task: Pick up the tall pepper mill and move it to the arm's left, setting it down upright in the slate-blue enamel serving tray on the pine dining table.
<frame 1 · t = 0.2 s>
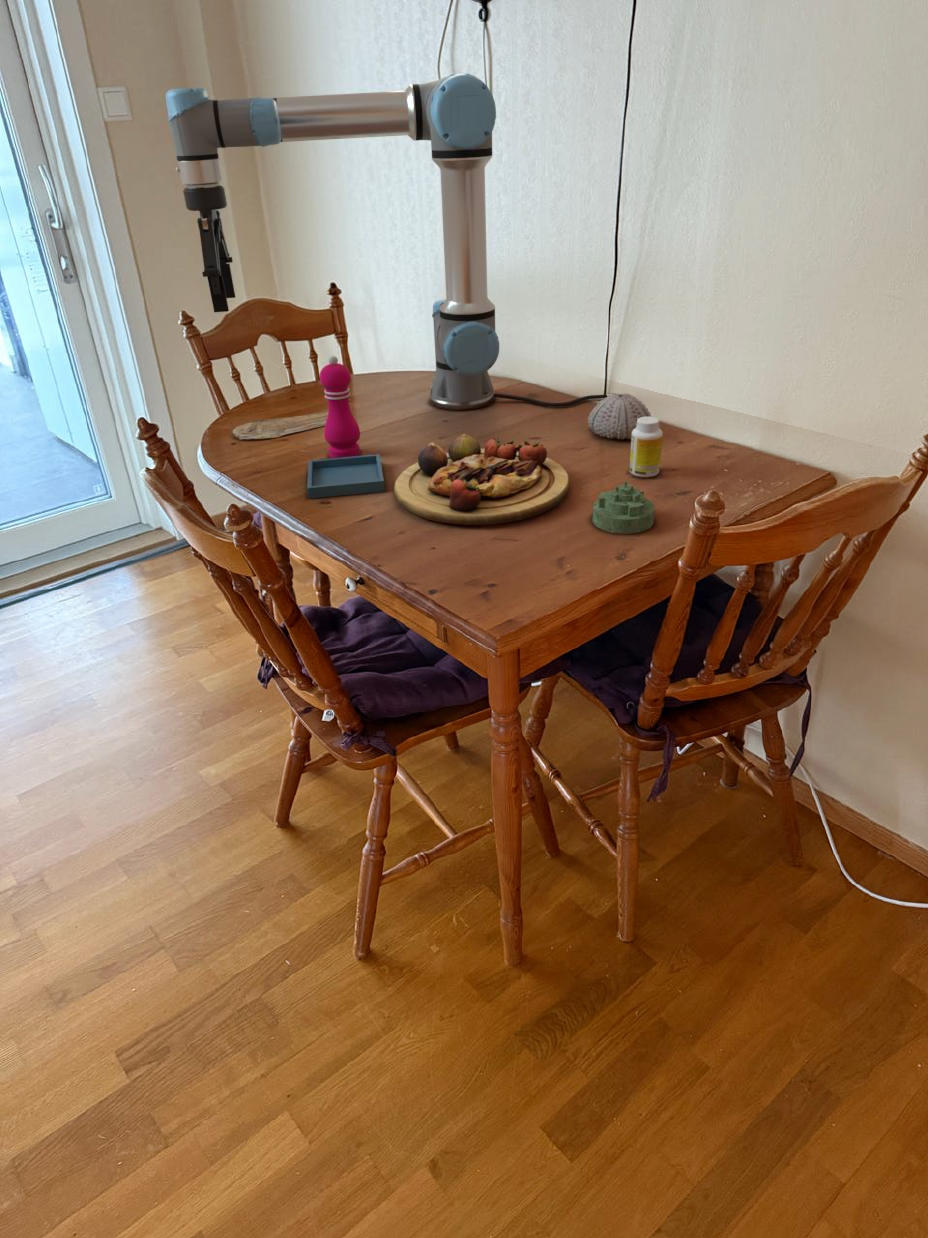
hand: (225, 304, 167), 28 cm above the table, tool pointing down, fingers open, 13 cm apart
sea urchin shell: (619, 433, 175), on the table
decorative artifact: (622, 521, 139), on the table
supplement bottle: (644, 473, 156), on the table
fish fossil: (291, 427, 188), on the table
tray: (346, 480, 159), on the table
wooden plate: (481, 491, 152), on the table
pepper mill: (344, 455, 171), on the table
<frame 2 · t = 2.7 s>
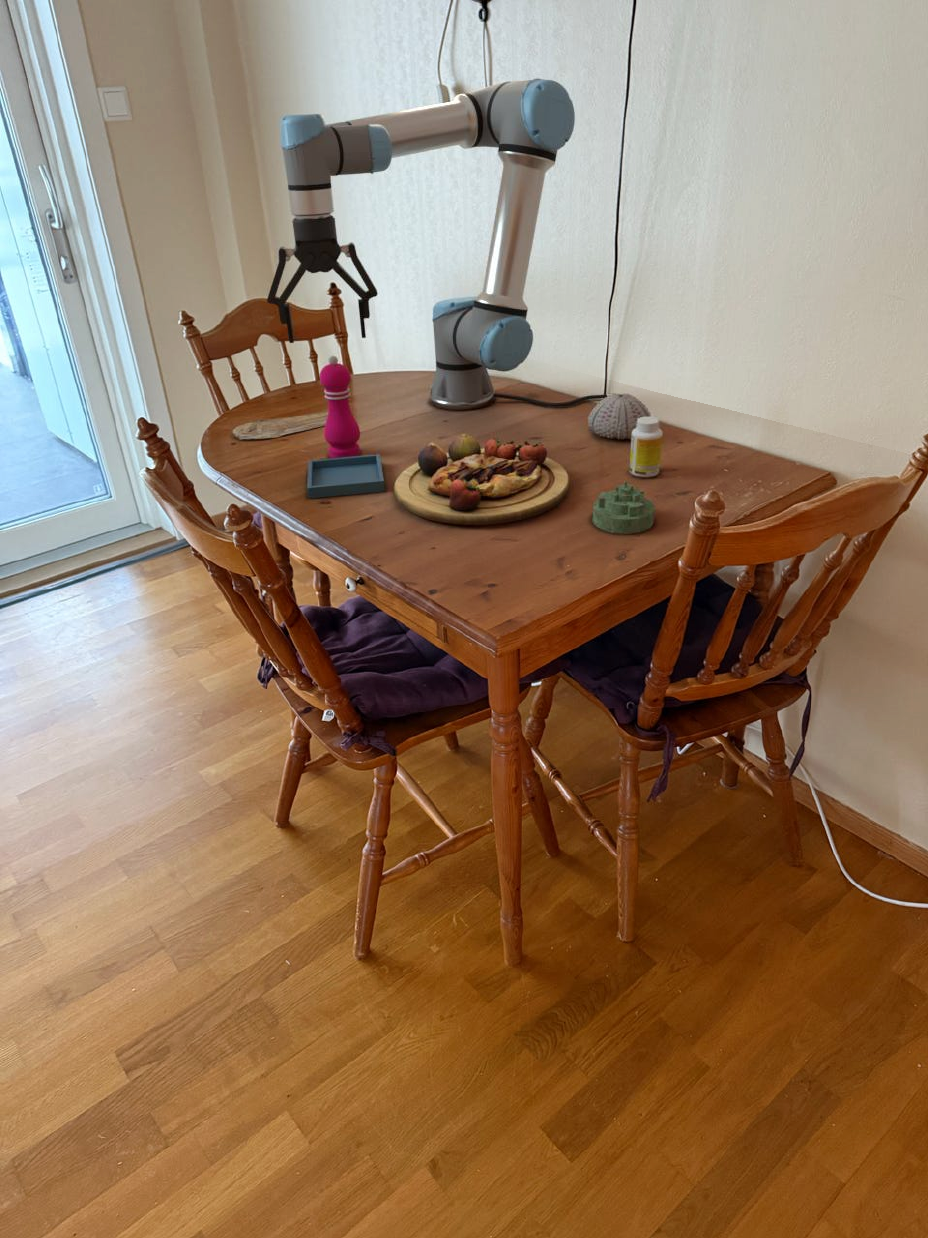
hand: (328, 338, 159), 23 cm above the table, tool pointing down, fingers open, 13 cm apart
nothing on the table moved.
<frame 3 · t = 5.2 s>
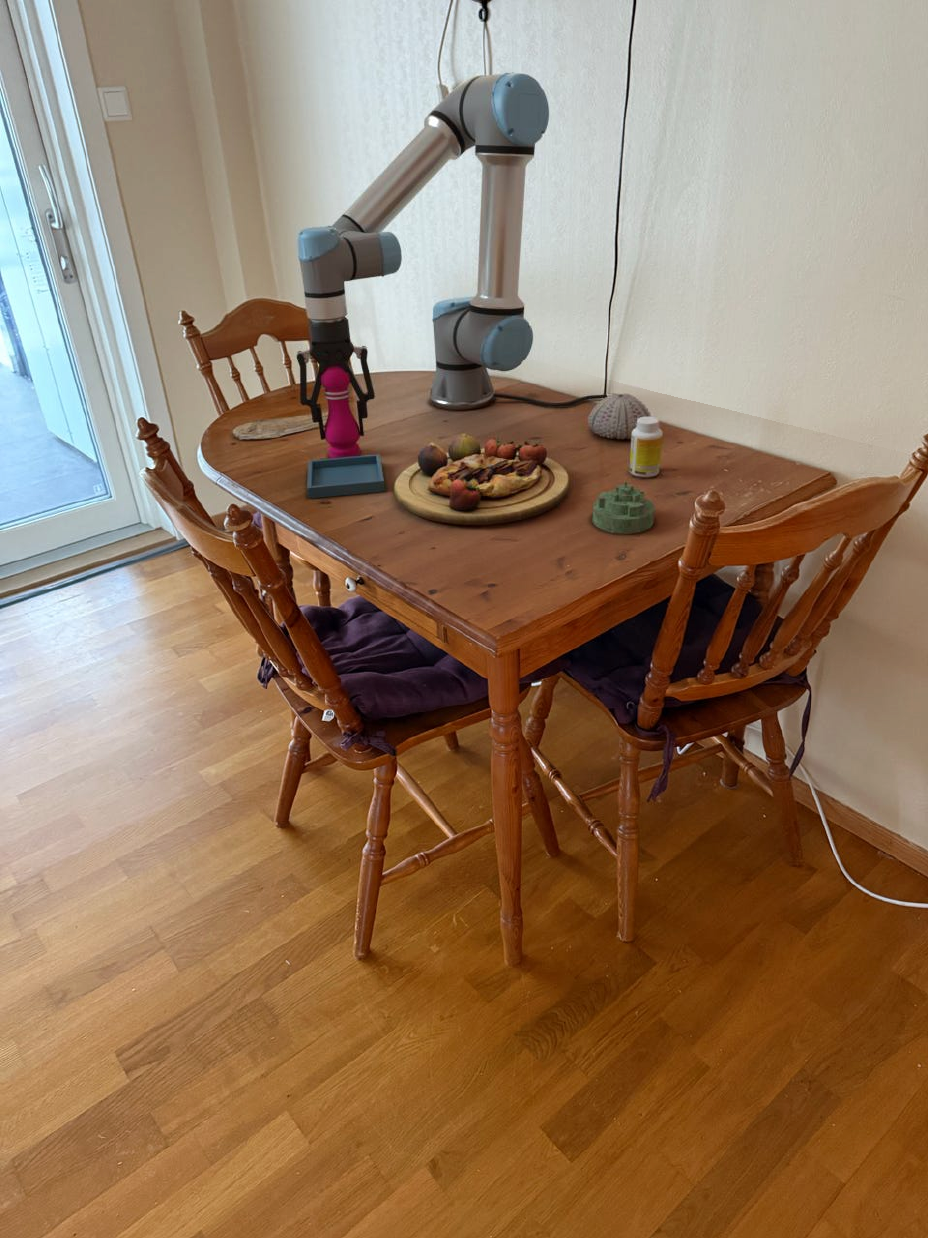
hand: (342, 435, 169), 4 cm above the table, tool pointing down, fingers closed on pepper mill, 7 cm apart
pepper mill: (344, 455, 171), on the table, touching gripper
everything else where it was.
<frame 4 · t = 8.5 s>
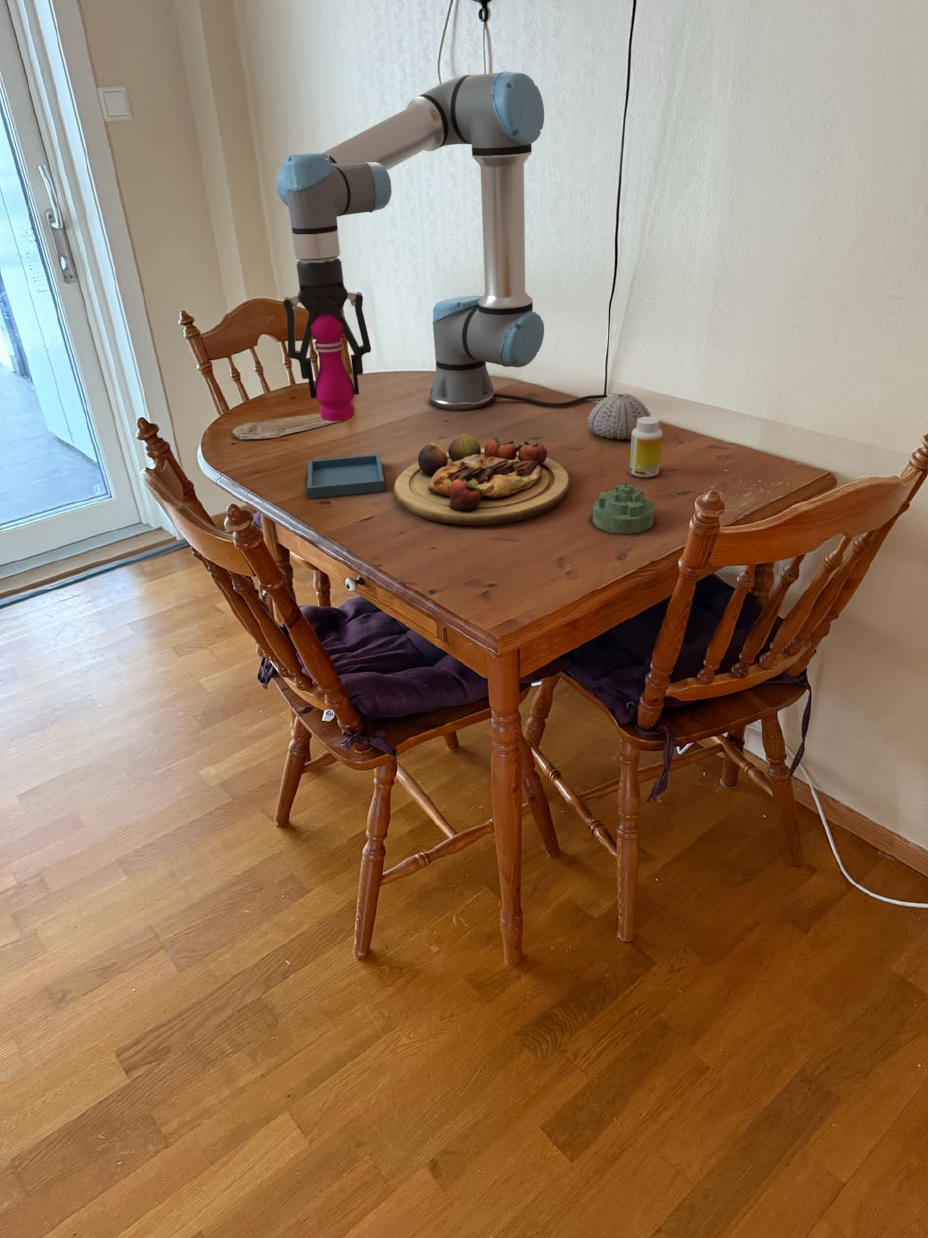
hand: (335, 393, 152), 16 cm above the table, tool pointing down, fingers closed on pepper mill, 7 cm apart
pepper mill: (337, 416, 154), point 12 cm above the table, touching gripper
everything else where it was.
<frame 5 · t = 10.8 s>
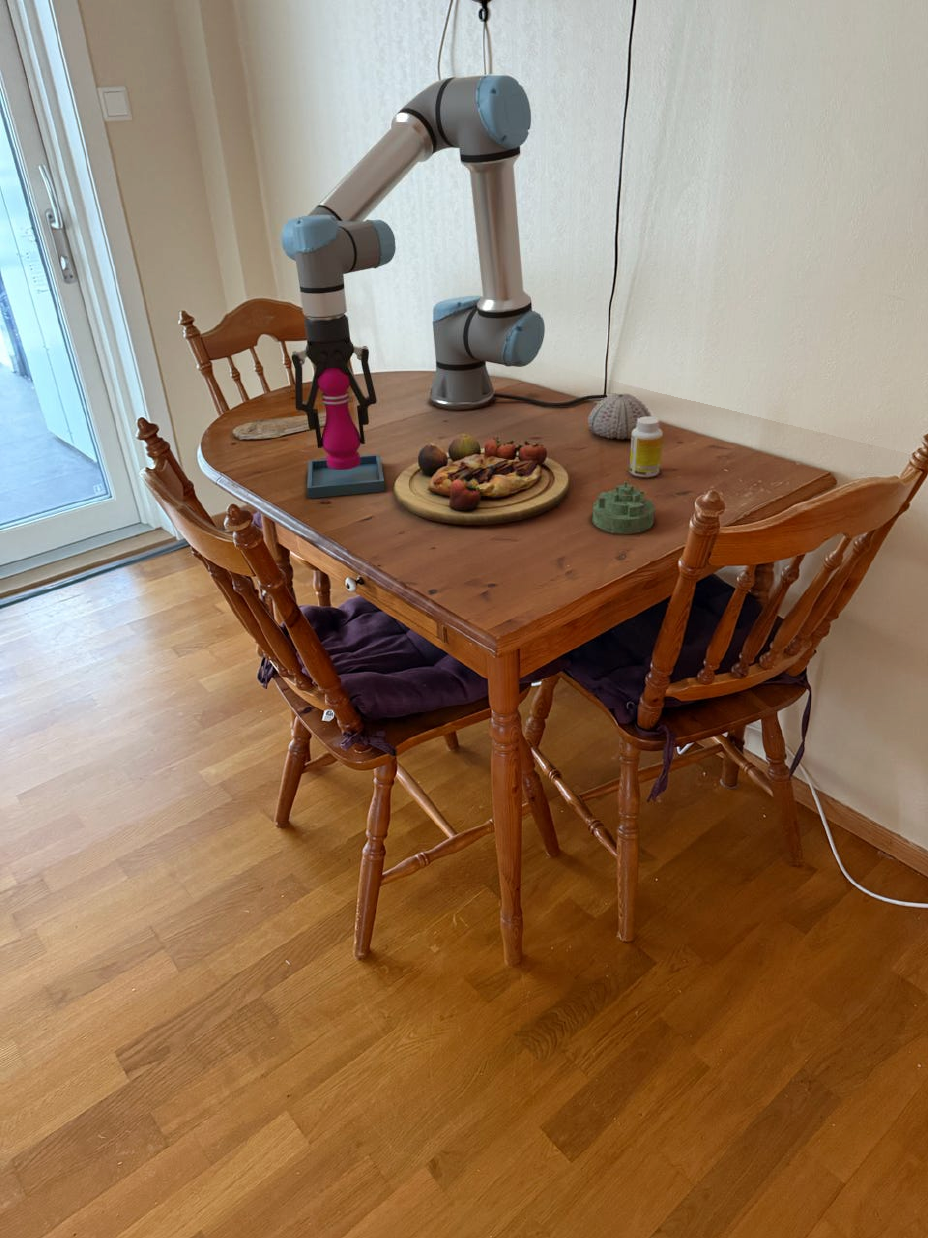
hand: (341, 443, 155), 7 cm above the table, tool pointing down, fingers closed on pepper mill, 7 cm apart
pepper mill: (344, 464, 158), point 3 cm above the table, touching gripper
everything else where it was.
when the fingers open (5 cm above the table, at t = 12.1 s): pepper mill stays where it is, resting on tray.
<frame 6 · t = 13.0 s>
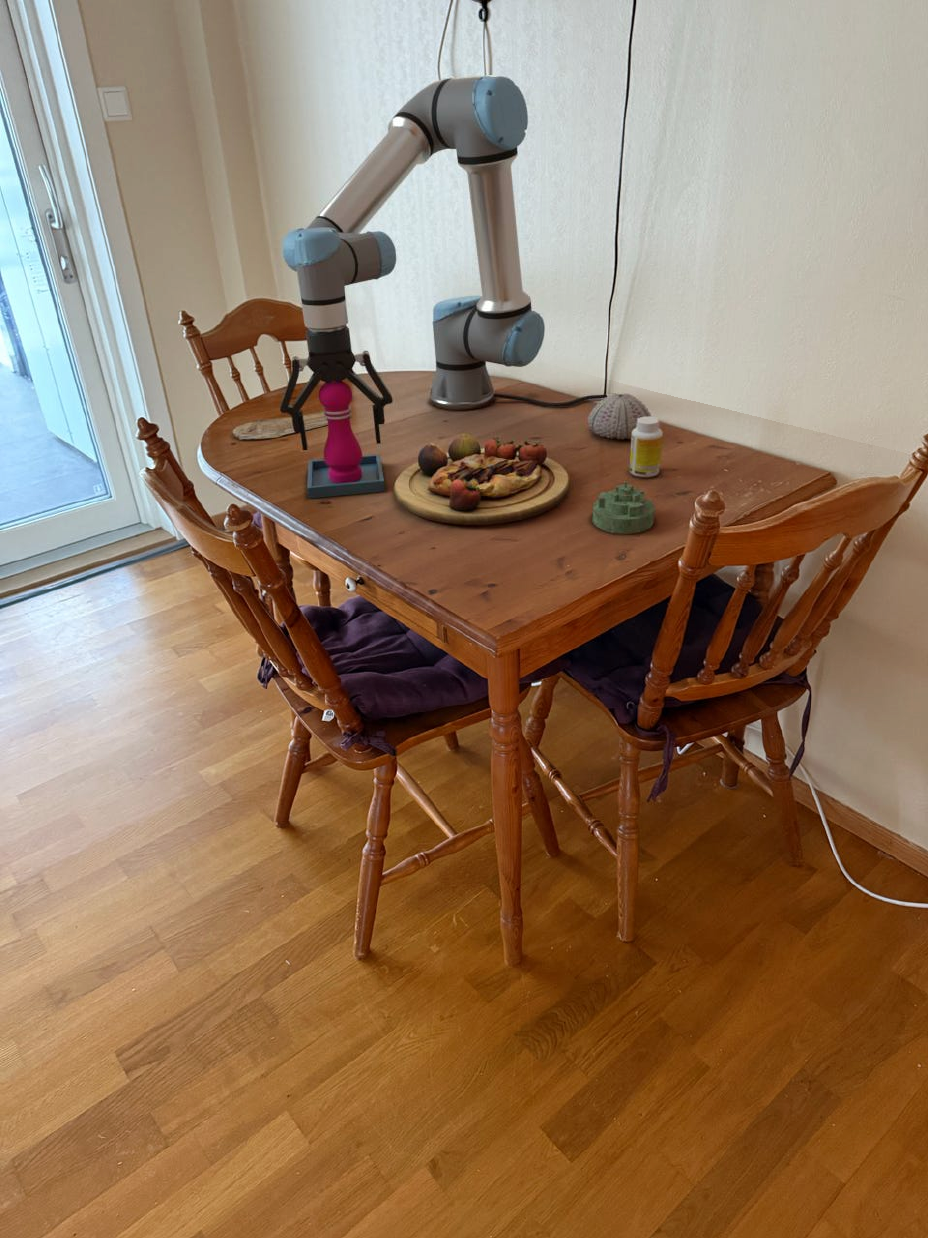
hand: (341, 444, 156), 7 cm above the table, tool pointing down, fingers open, 13 cm apart
pepper mill: (345, 478, 159), resting on tray
everything else where it was.
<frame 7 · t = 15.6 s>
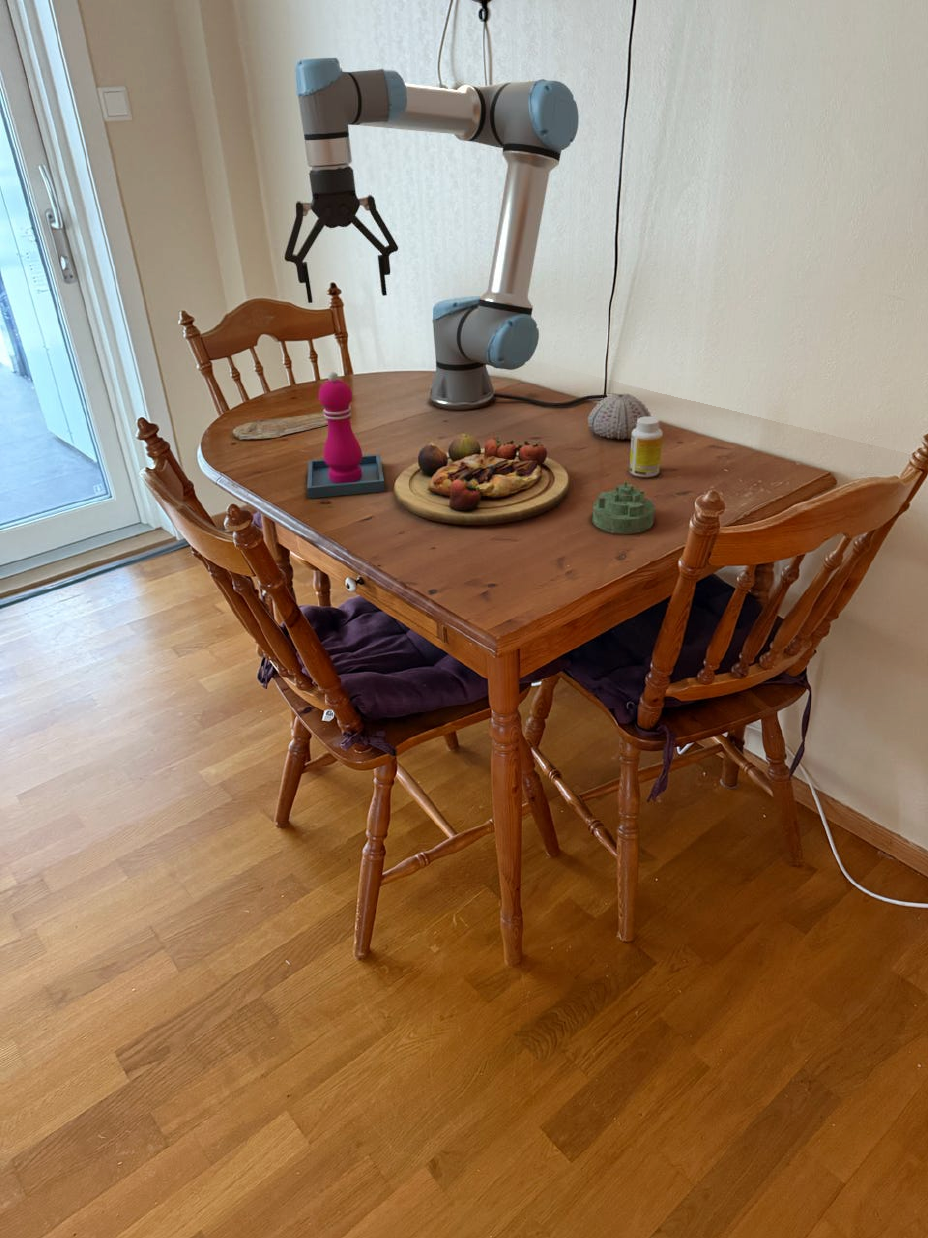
hand: (347, 297, 154), 31 cm above the table, tool pointing down, fingers open, 13 cm apart
nothing on the table moved.
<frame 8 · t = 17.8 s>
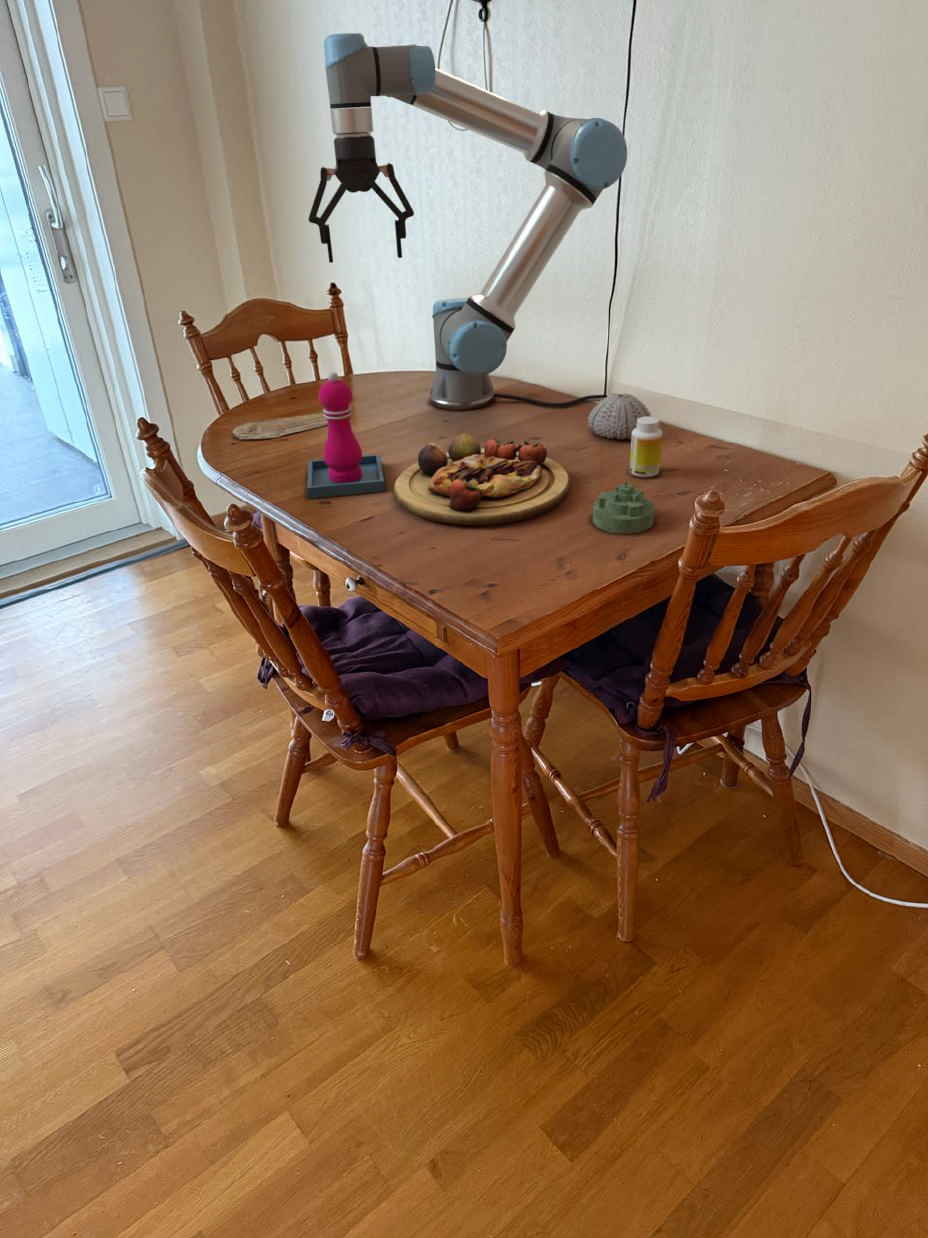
hand: (365, 259, 165), 35 cm above the table, tool pointing down, fingers open, 13 cm apart
nothing on the table moved.
at the end: pepper mill inside the target area in the tray (0.0 cm from its centre), point 0.4 cm above the tray's base; pepper mill tilted 0° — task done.
